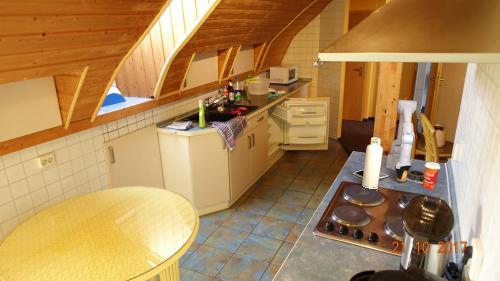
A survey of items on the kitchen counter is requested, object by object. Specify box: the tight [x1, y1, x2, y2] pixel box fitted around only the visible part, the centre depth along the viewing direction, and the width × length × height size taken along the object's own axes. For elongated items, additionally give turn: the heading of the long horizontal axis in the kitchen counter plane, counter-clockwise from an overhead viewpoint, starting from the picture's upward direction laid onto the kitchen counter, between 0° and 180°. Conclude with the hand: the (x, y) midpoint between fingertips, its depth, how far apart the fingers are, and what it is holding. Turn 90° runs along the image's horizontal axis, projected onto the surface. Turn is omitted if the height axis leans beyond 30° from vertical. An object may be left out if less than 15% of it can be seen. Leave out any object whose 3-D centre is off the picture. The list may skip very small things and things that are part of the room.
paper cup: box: [422, 161, 441, 190], centre depth 191 cm, size 8×8×14 cm
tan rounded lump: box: [396, 170, 407, 182], centre depth 197 cm, size 5×5×6 cm
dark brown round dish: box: [406, 169, 424, 183], centre depth 204 cm, size 11×11×3 cm
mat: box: [406, 178, 423, 185], centre depth 206 cm, size 14×12×1 cm
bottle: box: [361, 137, 384, 190], centre depth 187 cm, size 8×8×28 cm
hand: (401, 177), depth 198 cm, fingers closed on tan rounded lump, 5 cm apart
